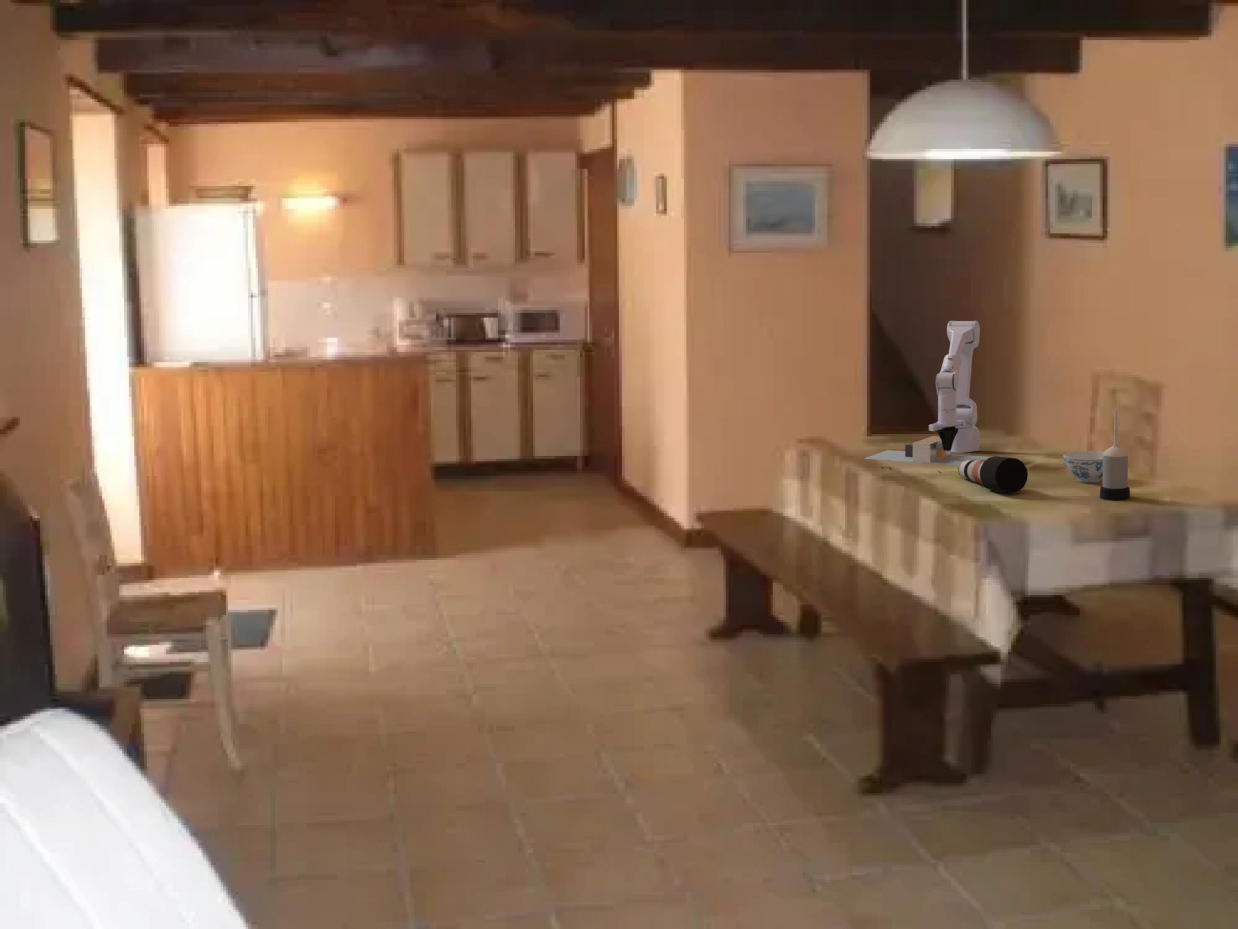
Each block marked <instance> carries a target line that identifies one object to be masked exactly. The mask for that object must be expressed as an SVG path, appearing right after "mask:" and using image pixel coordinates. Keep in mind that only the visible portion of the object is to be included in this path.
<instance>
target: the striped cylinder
mask: <svg viewBox="0 0 1238 929" xmlns="http://www.w3.org/2000/svg"><path fill="white" fill-rule="evenodd" d="M989 457H990V458H988V459H987V460H966V461H964V462H962V464H961V465H960V466H959V465H958V467H957V470H958V472H959V475H960V478H963V479H964V480H966V479H967V481H970V482H971V481H972V482H975V483H978V484H981V485H983V486H984V487H985V488H986V489H988V490H991V491H994V492H1000V493H1001V492H1002V493H1006V494H1014V493H1017V492H1019V491H1021V490H1022V489H1023V488H1024V487H1025V485H1026V483H1027V482H1028V477H1029V476H1028V475H1029V473H1028V468H1027V466H1026V465H1025V463H1024V462H1023V461H1022V460H1021V459H1018V458H1016V457H1015V458H1014V457H1008V456H1007V457H1006V456H997V455H994V456H989Z"/></svg>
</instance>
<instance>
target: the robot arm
mask: <svg viewBox="0 0 1238 929" xmlns="http://www.w3.org/2000/svg"><path fill="white" fill-rule="evenodd" d="M946 335H947V338H948V340H949V343H950V344H949V350H948V354H946V355H945V356H944V357H943V362H942V365H941V369H940V371H939V373H937V374H935V375H936V376H935V389H936V395H937V399H938V400H937V406H938V407H937V408H938V409H937V411H938V412H937V420H938V421H936V422H935V423H934V422H933V423H932V424H929V425H928V431H930V432H936V433H937V436H939V437H940V439H941V441H942V445H943V449H944V450H945V451H950V453H957V454H959V453H961V454H962V453H964V454H965V453H971V452H977V451H980V450H981V447H980V446H981V445H980V444H981V442H980V440H981V439H980V437H981V435H980V430H979V428H978V427H977V426H976V424H977V421H978V406H977V404H976V402H975V401H974V400H973V399H971V398H970V390H971V377H972V366H973V365H972V363H973V354H974V349H976V348H977V347H979V343H980V335H981V327H980V323H979V321H978V320H969V321H968V320H966V321H965V320H963V321H962V320H959V321H958V320H950V321H948V323H947V326H946Z"/></svg>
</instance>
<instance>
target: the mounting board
mask: <svg viewBox="0 0 1238 929" xmlns="http://www.w3.org/2000/svg"><path fill="white" fill-rule="evenodd" d="M990 457H991V456H981V455H980V456H979V455H967V454H965V455H964V454H951V453H950V455H949V456H946V458H944V459H937V458H936V461H933V462H930V463H928V462H916V463H919V464H920V463H921V464H932V465H934V464H935V465H949V466H958V467H959V466H960V465H961V464H962V462H964V461H966V460H987V459H988V458H990ZM863 459H865V460H877V461H878V460H879V461H892V462H893V461H894V462H902V463H904V462H906V463H915V462H914V461H913V457H905V450H904V451H903V450H892V449H891V450H890V449H887V450H884V451H881V452H879V453H875V454H873V455H870V456H867V457H864V458H863Z"/></svg>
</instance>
